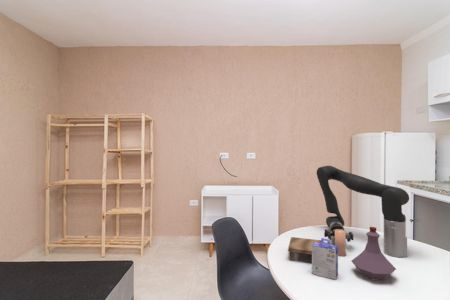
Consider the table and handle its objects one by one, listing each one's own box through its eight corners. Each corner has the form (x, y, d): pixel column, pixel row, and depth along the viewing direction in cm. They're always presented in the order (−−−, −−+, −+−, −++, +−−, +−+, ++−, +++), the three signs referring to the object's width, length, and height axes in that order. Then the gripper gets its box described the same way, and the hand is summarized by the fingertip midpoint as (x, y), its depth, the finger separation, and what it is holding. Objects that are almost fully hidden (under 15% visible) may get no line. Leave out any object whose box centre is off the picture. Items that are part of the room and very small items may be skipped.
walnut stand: (323, 252, 129) (323, 240, 129) (324, 265, 114) (324, 252, 114) (291, 248, 134) (291, 236, 134) (288, 260, 119) (288, 248, 119)
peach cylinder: (345, 253, 128) (345, 229, 128) (346, 257, 123) (346, 232, 123) (334, 251, 130) (334, 228, 129) (335, 255, 125) (335, 231, 125)
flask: (371, 263, 116) (371, 220, 116) (406, 281, 100) (406, 231, 100) (342, 269, 111) (342, 223, 111) (375, 288, 95) (375, 236, 95)
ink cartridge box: (338, 274, 106) (338, 240, 106) (336, 280, 101) (336, 244, 101) (314, 268, 111) (314, 236, 111) (311, 273, 107) (311, 240, 107)
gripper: (323, 221, 147) (324, 230, 132) (350, 224, 142) (354, 233, 127) (323, 234, 147) (324, 244, 132) (350, 237, 142) (354, 248, 127)
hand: (339, 239), depth 129 cm, fingers open, 8 cm apart
